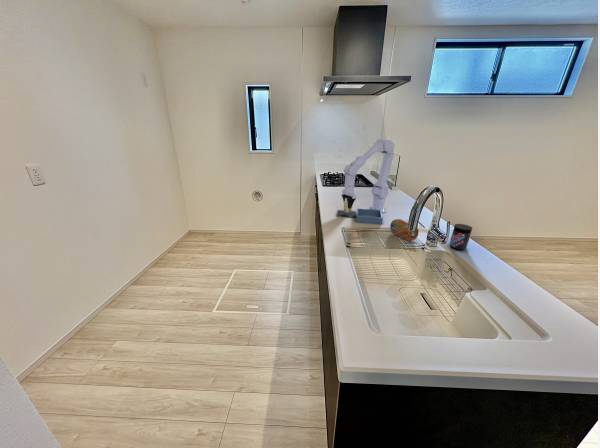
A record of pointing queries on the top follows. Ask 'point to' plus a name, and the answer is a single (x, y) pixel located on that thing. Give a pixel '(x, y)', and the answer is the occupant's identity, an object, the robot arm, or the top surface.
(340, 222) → the top surface
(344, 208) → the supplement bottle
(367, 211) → the crate
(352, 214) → the mat
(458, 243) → the supplement container
